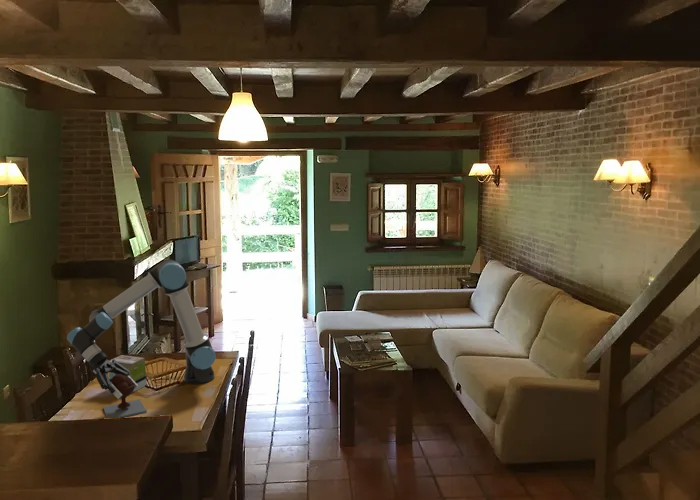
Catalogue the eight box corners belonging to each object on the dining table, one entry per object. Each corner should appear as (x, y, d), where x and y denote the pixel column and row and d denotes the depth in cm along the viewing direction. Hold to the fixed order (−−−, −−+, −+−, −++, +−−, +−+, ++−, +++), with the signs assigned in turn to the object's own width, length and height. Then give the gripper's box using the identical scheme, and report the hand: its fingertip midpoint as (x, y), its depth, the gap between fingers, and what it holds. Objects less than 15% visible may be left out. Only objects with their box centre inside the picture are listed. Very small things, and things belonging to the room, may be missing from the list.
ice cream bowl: (128, 411, 271) (125, 378, 269) (105, 410, 273) (102, 377, 271) (141, 401, 281) (138, 370, 279) (119, 400, 284) (116, 369, 281)
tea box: (109, 389, 305) (106, 360, 303) (123, 382, 314) (121, 354, 312) (133, 392, 299) (131, 363, 297) (147, 385, 309) (145, 356, 307)
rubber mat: (139, 400, 288) (139, 399, 288) (146, 412, 275) (146, 410, 274) (103, 408, 281) (102, 406, 281) (108, 420, 267) (108, 419, 267)
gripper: (107, 354, 290) (139, 388, 288) (72, 370, 268) (107, 407, 266) (116, 343, 288) (148, 377, 286) (82, 359, 265) (116, 396, 263)
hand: (128, 392), depth 276 cm, fingers closed on ice cream bowl, 11 cm apart
